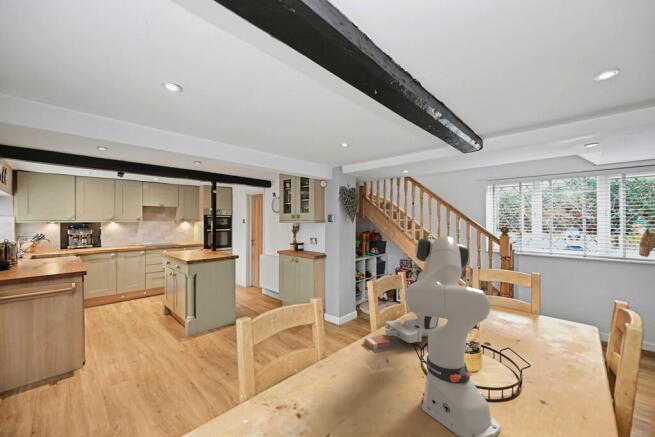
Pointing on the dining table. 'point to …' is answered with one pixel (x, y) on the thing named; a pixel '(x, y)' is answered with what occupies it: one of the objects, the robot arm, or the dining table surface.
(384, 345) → the card box
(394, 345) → the mat
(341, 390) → the dining table surface
